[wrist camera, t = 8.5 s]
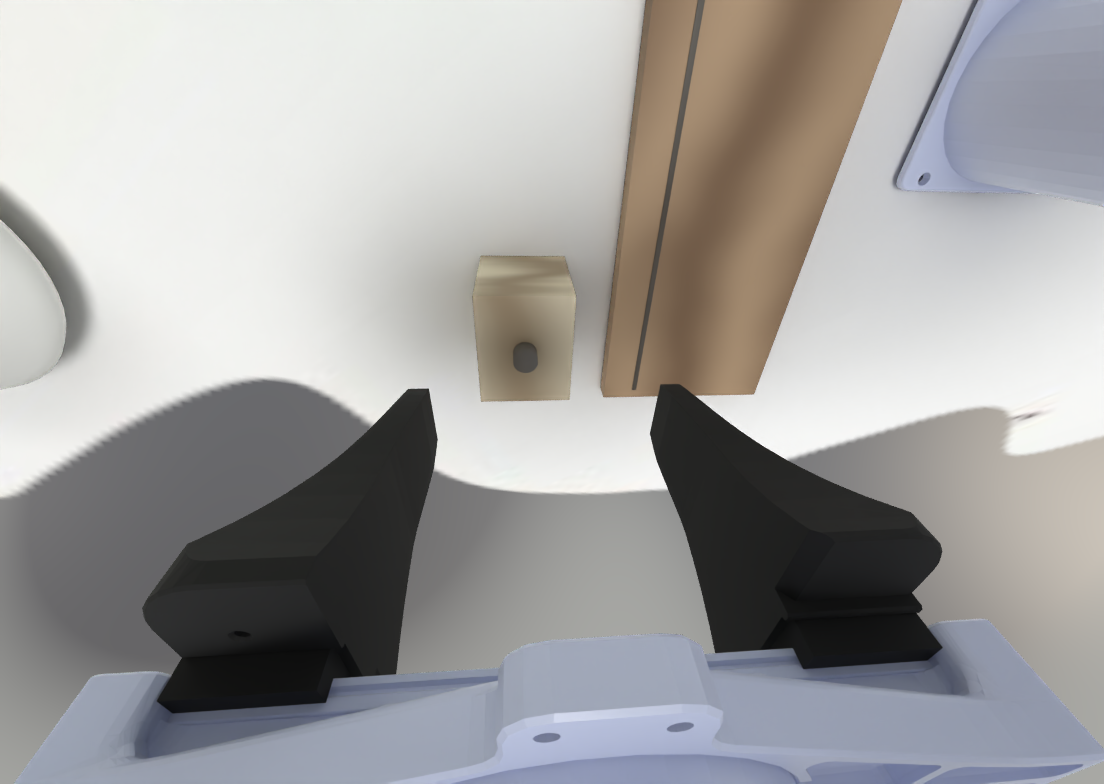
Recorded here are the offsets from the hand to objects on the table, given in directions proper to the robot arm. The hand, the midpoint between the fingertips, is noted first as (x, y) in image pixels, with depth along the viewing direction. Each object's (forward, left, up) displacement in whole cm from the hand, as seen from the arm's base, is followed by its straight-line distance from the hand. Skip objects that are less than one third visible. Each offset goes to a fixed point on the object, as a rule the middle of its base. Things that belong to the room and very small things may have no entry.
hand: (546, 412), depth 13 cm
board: (-8, -4, -10) cm, 14 cm away
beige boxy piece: (+1, +1, -10) cm, 10 cm away
